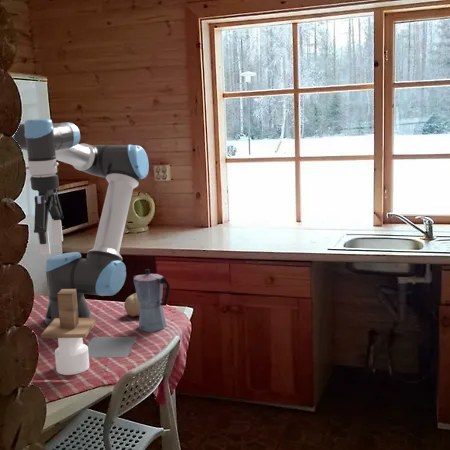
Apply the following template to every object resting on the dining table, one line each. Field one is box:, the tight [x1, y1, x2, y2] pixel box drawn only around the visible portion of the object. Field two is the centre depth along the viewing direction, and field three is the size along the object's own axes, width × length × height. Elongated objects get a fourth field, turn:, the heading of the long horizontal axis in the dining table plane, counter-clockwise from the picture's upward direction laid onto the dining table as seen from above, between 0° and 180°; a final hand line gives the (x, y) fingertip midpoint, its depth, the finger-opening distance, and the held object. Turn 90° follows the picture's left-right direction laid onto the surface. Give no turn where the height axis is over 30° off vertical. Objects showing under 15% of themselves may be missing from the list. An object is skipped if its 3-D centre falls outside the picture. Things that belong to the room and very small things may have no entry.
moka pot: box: [132, 268, 171, 333], centre depth 191 cm, size 10×15×20 cm, turn 59°
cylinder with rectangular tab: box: [54, 338, 90, 376], centre depth 163 cm, size 9×9×12 cm
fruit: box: [124, 292, 140, 317], centre depth 204 cm, size 8×8×8 cm
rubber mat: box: [87, 336, 138, 359], centre depth 178 cm, size 15×14×1 cm
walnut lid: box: [40, 289, 98, 339], centre depth 161 cm, size 12×12×11 cm
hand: (52, 247), depth 169 cm, fingers open, 13 cm apart
